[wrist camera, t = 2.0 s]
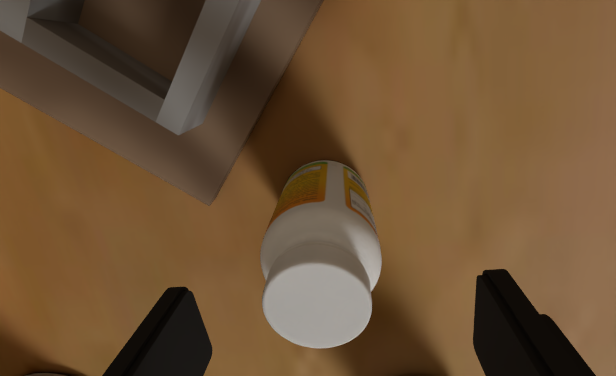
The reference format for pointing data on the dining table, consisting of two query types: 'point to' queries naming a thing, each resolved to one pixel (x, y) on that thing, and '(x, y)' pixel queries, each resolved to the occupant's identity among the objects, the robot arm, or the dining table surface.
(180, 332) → the robot arm
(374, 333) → the dining table surface
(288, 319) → the supplement bottle
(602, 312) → the dining table surface
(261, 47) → the holder
